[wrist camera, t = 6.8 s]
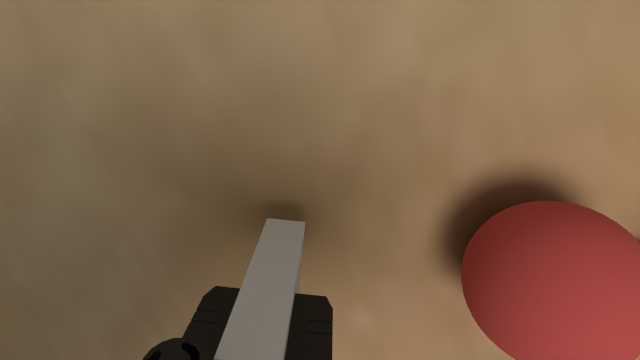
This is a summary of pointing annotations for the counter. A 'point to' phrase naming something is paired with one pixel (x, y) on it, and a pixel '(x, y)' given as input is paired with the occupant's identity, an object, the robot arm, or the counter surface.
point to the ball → (555, 283)
